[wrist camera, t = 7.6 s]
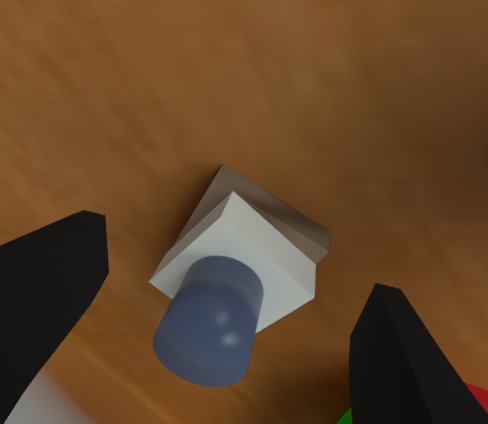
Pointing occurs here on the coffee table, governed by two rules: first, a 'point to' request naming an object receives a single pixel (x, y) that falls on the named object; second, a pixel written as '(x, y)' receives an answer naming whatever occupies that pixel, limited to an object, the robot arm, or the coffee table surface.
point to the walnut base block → (263, 213)
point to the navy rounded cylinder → (211, 322)
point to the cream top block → (244, 257)
